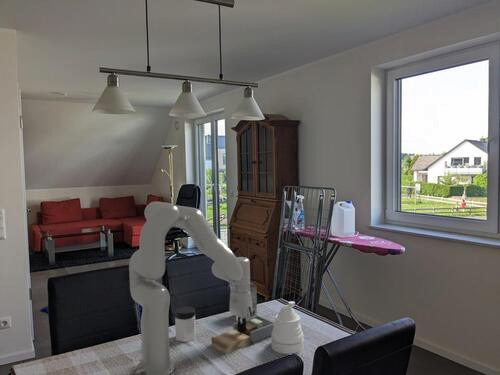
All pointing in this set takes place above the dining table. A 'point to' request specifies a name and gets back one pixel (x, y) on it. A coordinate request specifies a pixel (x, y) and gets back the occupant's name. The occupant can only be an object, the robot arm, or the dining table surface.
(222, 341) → the board
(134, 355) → the dining table surface
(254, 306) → the coffee box
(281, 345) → the honey pot
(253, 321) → the tile far
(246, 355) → the dining table surface
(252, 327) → the tile near
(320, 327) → the dining table surface
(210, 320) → the dining table surface
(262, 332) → the tray
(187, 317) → the jar
